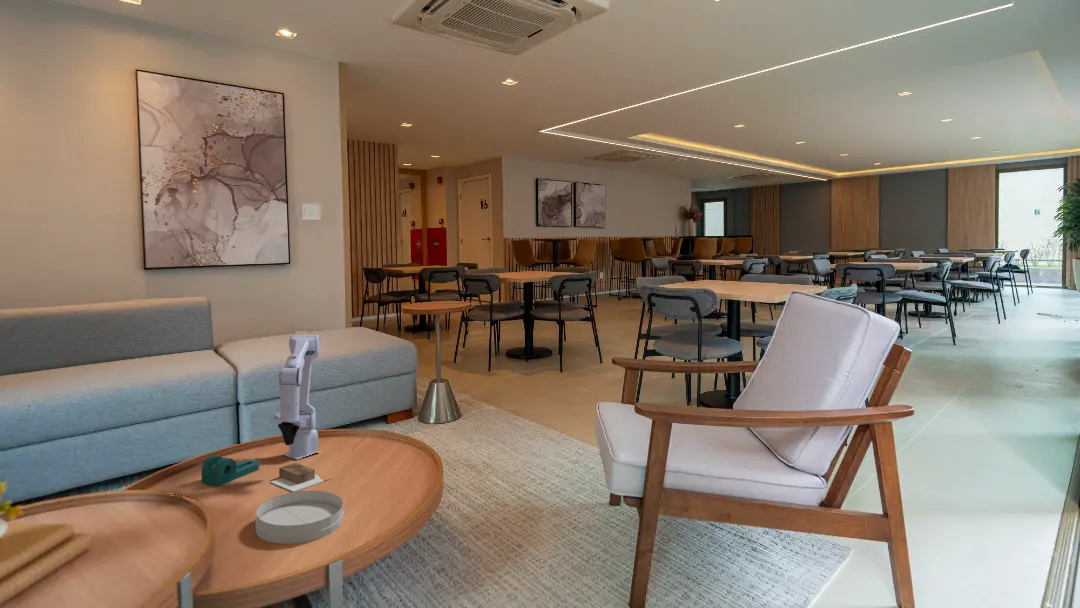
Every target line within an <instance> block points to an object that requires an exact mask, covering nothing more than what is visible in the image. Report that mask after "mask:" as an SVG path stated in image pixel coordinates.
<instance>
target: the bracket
mask: <svg viewBox="0 0 1080 608" xmlns="http://www.w3.org/2000/svg"><path fill="white" fill-rule="evenodd" d="M259 470H260V461H259V460H257V459H246V460H242V461H239V462H236V461H235V459H233V458H230V457H225V456H224V457H223V456H220V455H216V454H215V455H214V454H213V455H210V456H208V457H207V458H205V460H204V461H203V463H202V465H201V484H205V485H210V486H213V487H221V486H223V485H225V484H228V483H230V482H232V481H235V480H238V479H240V478H242V477H244V476H248V475H249V474H251V473H255V472H256V471H259Z"/></svg>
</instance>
